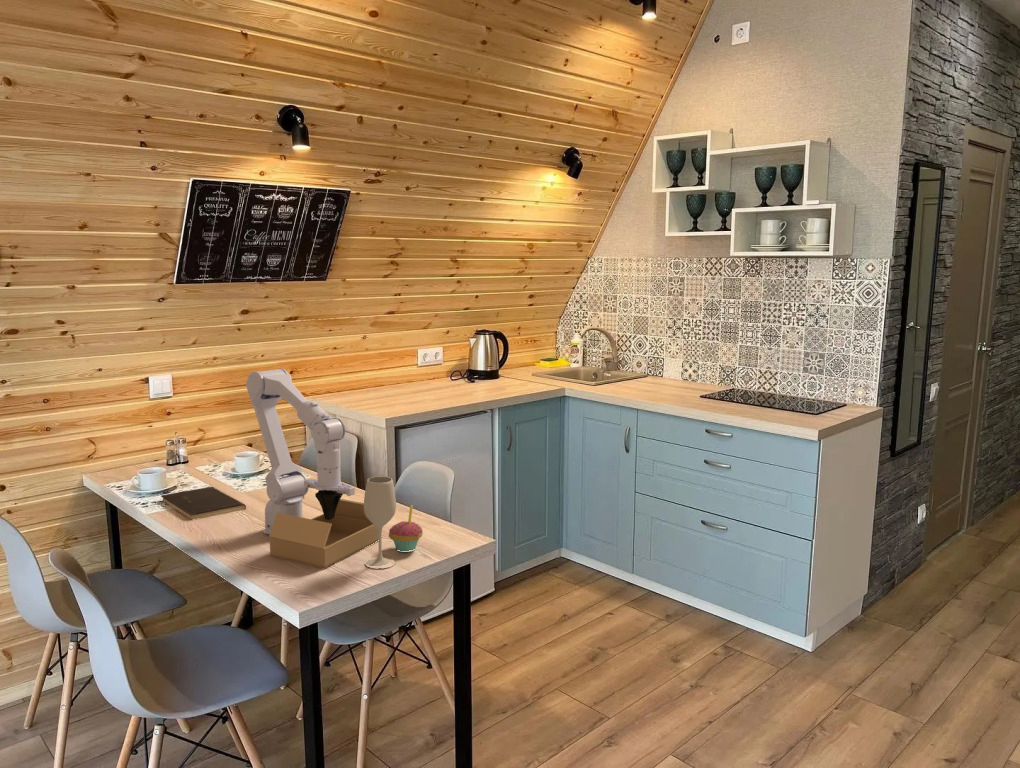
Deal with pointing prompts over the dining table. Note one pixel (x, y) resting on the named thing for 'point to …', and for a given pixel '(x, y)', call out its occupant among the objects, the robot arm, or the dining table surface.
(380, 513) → the wineglass
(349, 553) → the carton
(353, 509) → the flap
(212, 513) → the hardcover book
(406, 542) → the cupcake
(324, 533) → the flap
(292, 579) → the dining table surface
